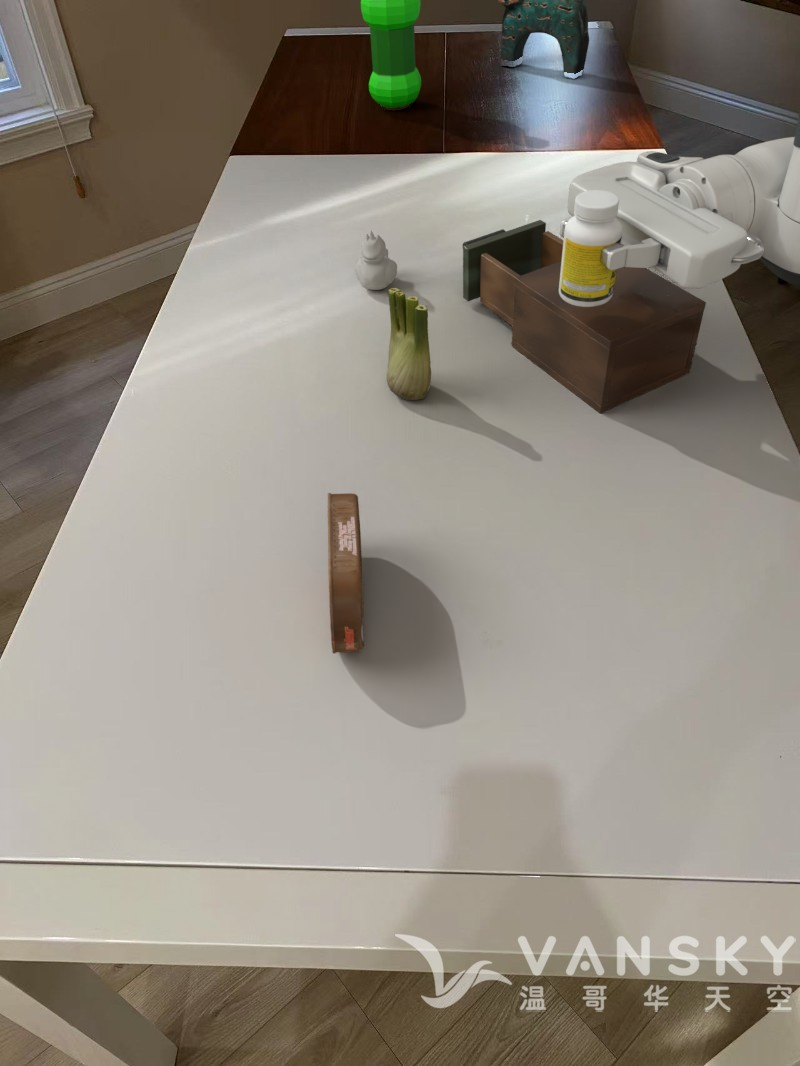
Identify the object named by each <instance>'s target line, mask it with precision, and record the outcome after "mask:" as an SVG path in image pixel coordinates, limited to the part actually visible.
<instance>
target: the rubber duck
mask: <svg viewBox="0 0 800 1066" xmlns="http://www.w3.org/2000/svg"><path fill="white" fill-rule="evenodd" d="M354 272H355V276H356V278H357V280H358V281H359V284H360V286H361V287H363V288H365V289H368V290H372V291H380V290H383V289H386V288H387V287H388V286H389V285H390V284H392V283H393V281H394V280H395V279H396V277H397V274H398V264H397V262H396V261H395V260H394V259H391V258H390V257H389V250H388V248H387V245H386V242H385V240H384V239H383V238H382V237H381V236H380V235H379V234H377V236H375V234H374V233H373V231H372V229H370V231H369V234H368V233H367V234H365V237H364V239H363V241H362V243H361V257H360V258H359V259H358V260H357V261H356V263H355V265H354Z"/></svg>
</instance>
